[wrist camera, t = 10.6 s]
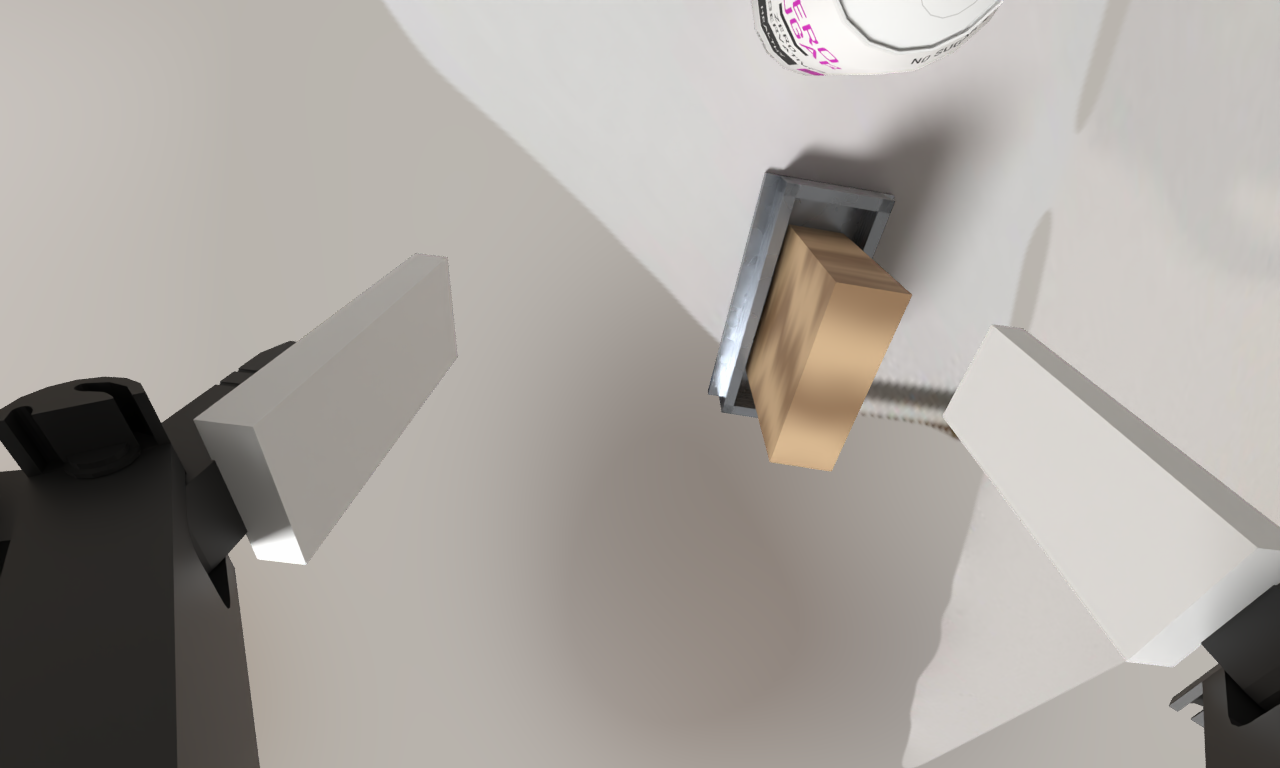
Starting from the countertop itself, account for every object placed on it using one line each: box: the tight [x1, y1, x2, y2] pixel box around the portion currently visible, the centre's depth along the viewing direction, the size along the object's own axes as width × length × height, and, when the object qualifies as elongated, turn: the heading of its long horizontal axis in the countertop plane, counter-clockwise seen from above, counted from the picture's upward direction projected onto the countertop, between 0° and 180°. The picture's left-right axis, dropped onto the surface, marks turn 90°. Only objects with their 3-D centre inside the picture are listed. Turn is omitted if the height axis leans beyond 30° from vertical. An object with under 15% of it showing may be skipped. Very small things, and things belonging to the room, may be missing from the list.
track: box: [708, 173, 895, 418], centre depth 38 cm, size 18×9×3 cm, turn 171°
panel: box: [746, 224, 912, 471], centre depth 34 cm, size 12×4×12 cm, turn 171°
